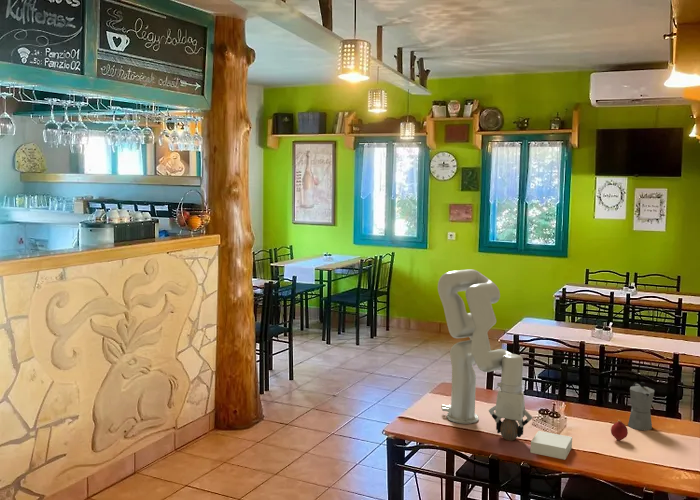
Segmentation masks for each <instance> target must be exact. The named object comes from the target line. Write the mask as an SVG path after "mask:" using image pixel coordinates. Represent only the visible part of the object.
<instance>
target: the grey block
mask: <svg viewBox="0 0 700 500" xmlns="http://www.w3.org/2000/svg"><path fill="white" fill-rule="evenodd" d="M572 448H573V437H572V436H569V435H562V434H557V433H554V432H553V433H552V432H549V431H548V432H547V431H541V430H538V431H537V432H536V434H534V437H532V439H531V441H530V451H529V453H531V454H536V455H541V456H546V457H550V458H553V459H559V460H566V459H567V458H568V455H570V454H569V453H570V452H571V450H572Z"/></svg>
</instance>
